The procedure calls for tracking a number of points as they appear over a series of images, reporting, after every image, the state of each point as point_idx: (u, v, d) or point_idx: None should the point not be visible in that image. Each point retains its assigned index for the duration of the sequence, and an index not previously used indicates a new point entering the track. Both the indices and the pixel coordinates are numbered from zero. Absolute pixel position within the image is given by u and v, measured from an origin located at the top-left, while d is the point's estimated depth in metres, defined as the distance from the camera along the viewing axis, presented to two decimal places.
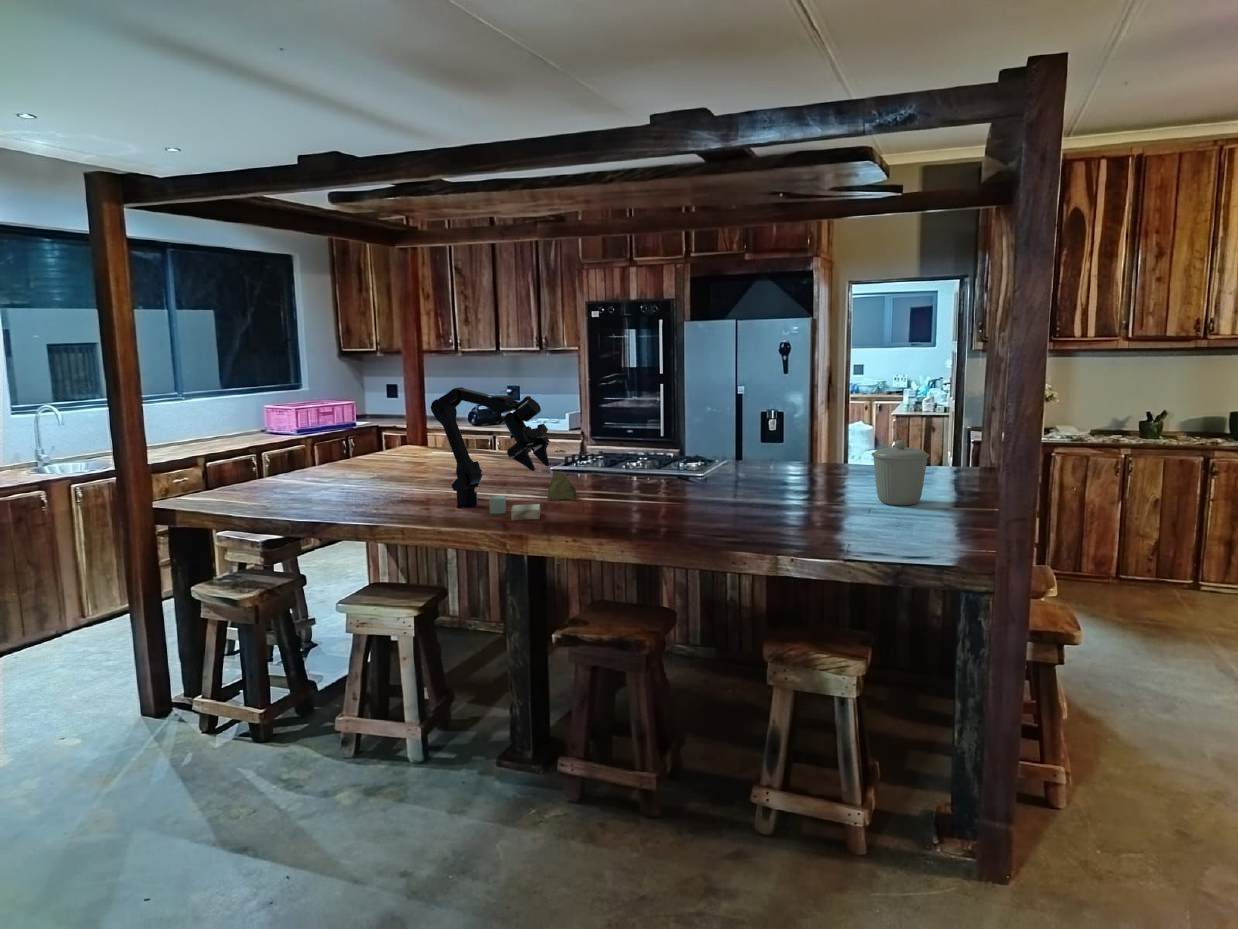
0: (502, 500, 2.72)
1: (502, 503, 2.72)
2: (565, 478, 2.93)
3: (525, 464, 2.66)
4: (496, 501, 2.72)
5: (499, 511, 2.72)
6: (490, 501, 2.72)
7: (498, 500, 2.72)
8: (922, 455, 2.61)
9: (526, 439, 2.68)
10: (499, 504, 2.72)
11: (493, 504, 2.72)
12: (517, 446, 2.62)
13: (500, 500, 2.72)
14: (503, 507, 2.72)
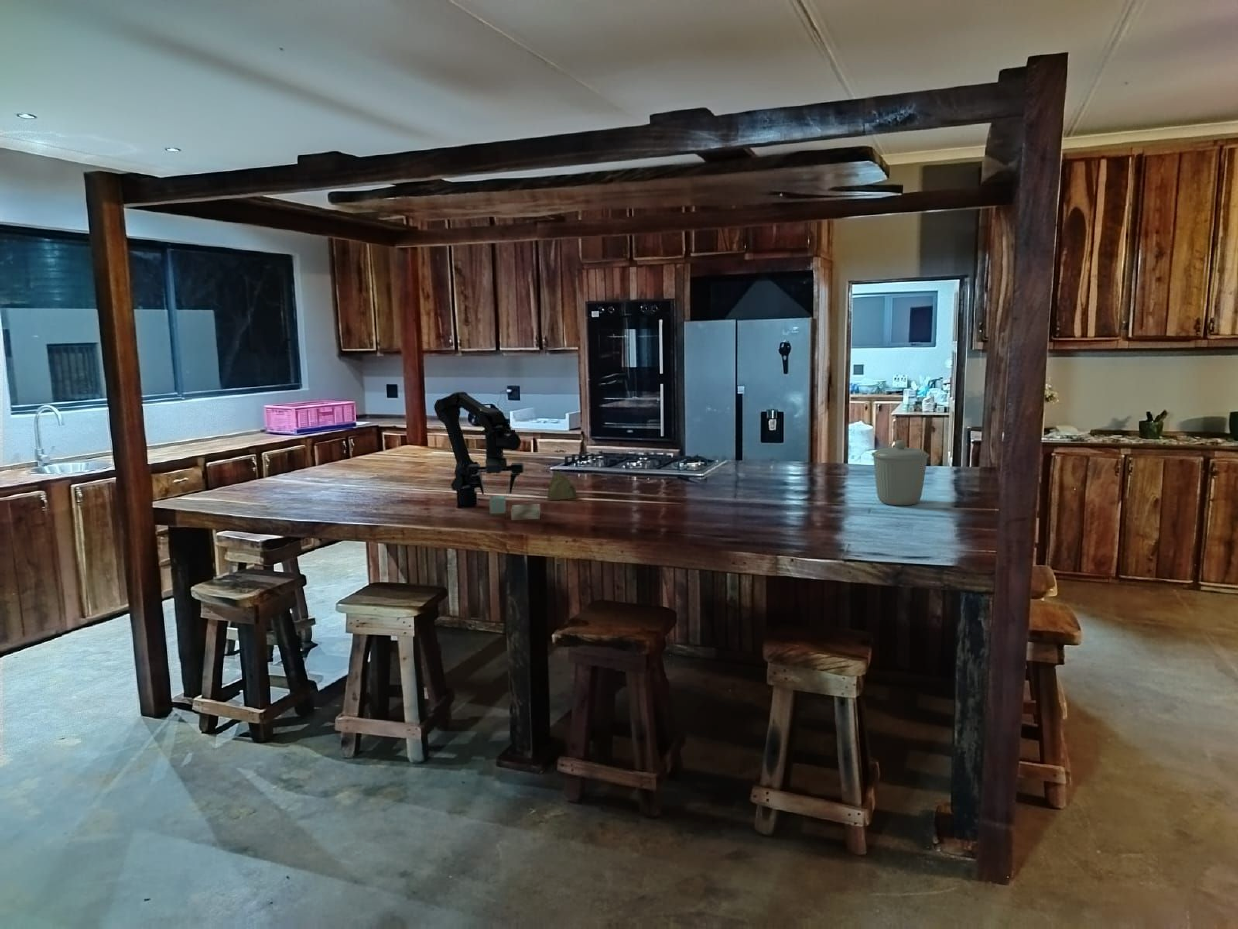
0: (502, 500, 2.72)
1: (502, 503, 2.72)
2: (565, 478, 2.93)
3: None
4: (496, 501, 2.72)
5: (499, 511, 2.72)
6: (490, 501, 2.72)
7: (498, 500, 2.72)
8: (922, 455, 2.61)
9: None
10: (499, 504, 2.72)
11: (493, 504, 2.72)
12: (466, 470, 2.70)
13: (500, 500, 2.72)
14: (503, 507, 2.72)
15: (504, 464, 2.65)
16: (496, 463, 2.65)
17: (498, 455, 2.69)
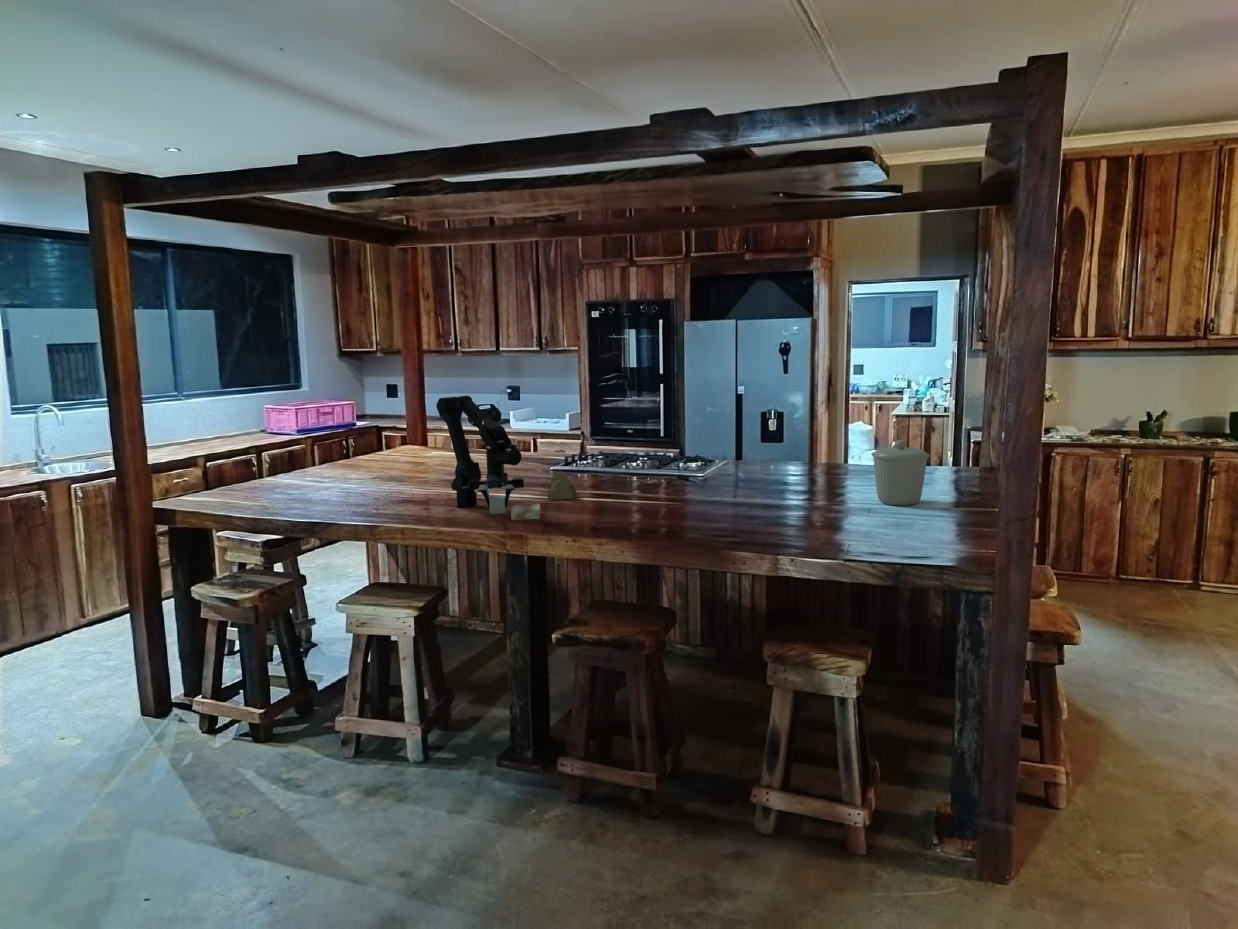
0: (502, 500, 2.72)
1: (502, 503, 2.72)
2: (565, 478, 2.93)
3: None
4: (496, 500, 2.72)
5: (499, 511, 2.72)
6: (490, 501, 2.72)
7: (498, 500, 2.72)
8: (922, 455, 2.61)
9: None
10: (499, 504, 2.72)
11: (493, 504, 2.72)
12: (467, 485, 2.71)
13: (500, 500, 2.72)
14: (503, 507, 2.72)
15: (505, 479, 2.66)
16: (497, 478, 2.66)
17: (499, 470, 2.70)
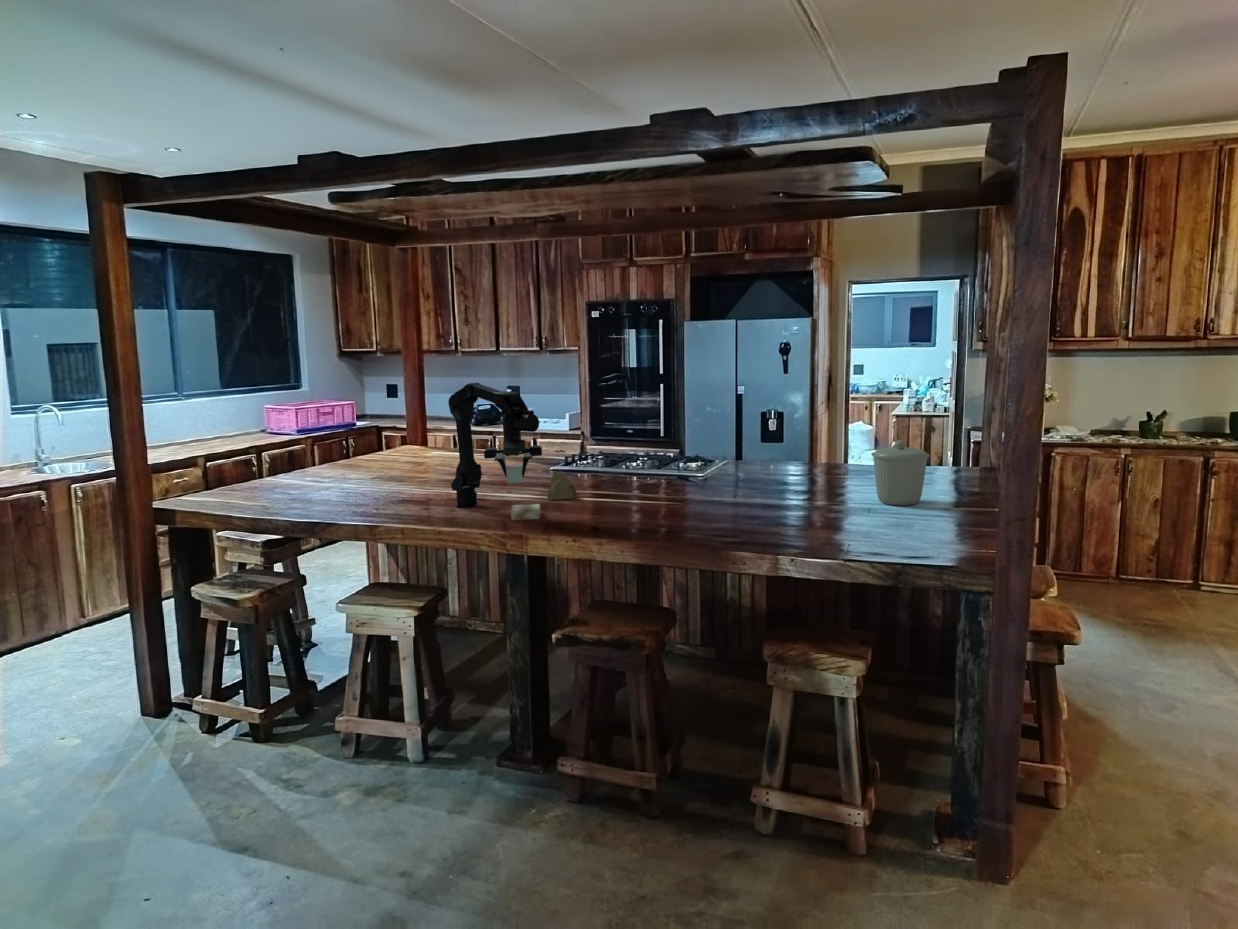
0: (519, 468, 2.64)
1: (519, 471, 2.64)
2: (565, 478, 2.93)
3: None
4: (513, 469, 2.64)
5: (516, 480, 2.65)
6: (507, 470, 2.64)
7: (515, 468, 2.64)
8: (922, 455, 2.61)
9: (503, 448, 2.63)
10: (516, 473, 2.64)
11: (510, 473, 2.64)
12: (484, 453, 2.63)
13: (517, 468, 2.64)
14: (520, 476, 2.65)
15: (522, 446, 2.58)
16: (514, 445, 2.58)
17: (516, 437, 2.62)
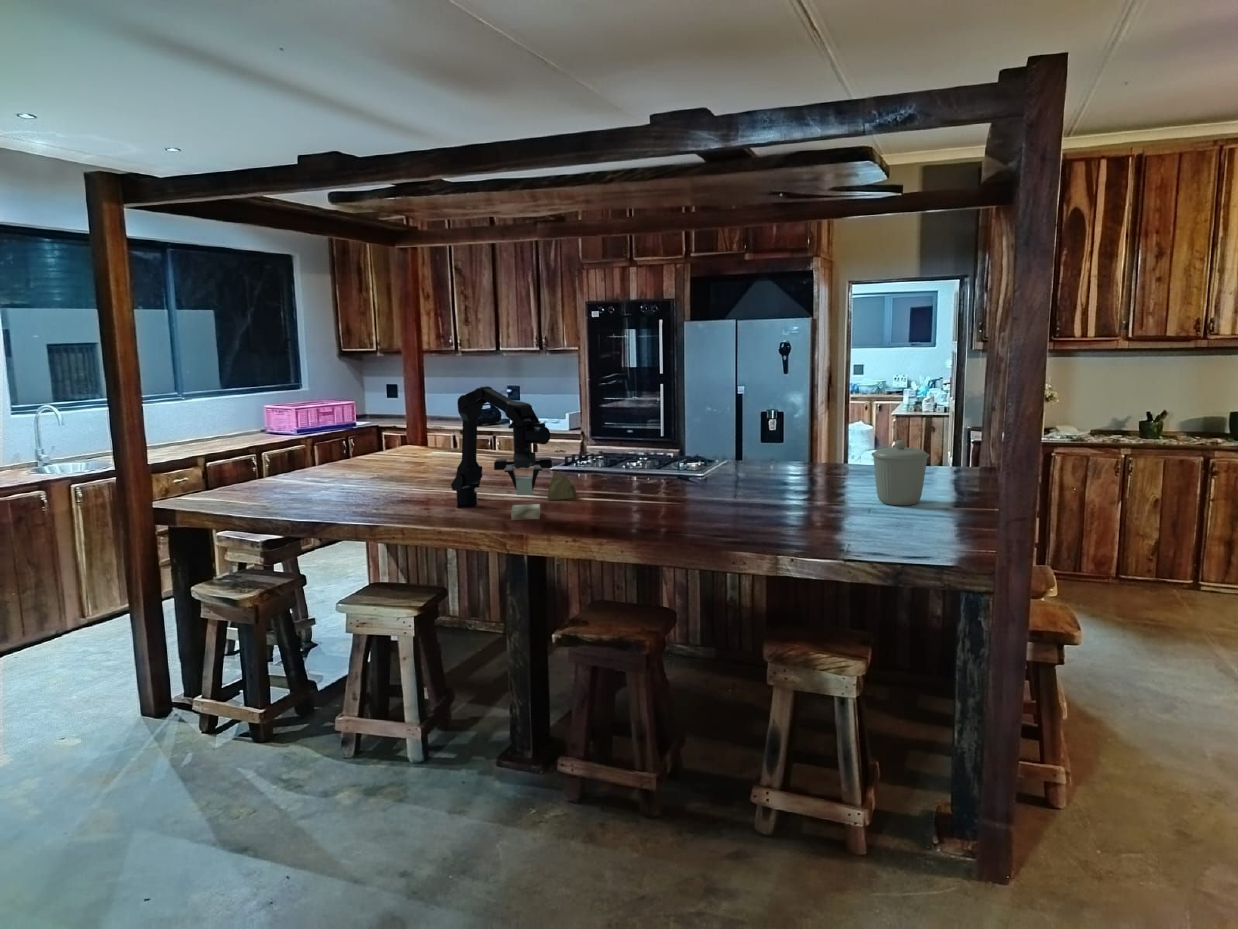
0: (529, 480, 2.62)
1: (529, 484, 2.62)
2: (565, 478, 2.93)
3: None
4: (523, 481, 2.62)
5: (526, 492, 2.63)
6: (517, 481, 2.62)
7: (525, 480, 2.62)
8: (922, 455, 2.61)
9: None
10: (526, 485, 2.62)
11: (520, 485, 2.62)
12: (494, 465, 2.61)
13: (527, 480, 2.62)
14: (530, 488, 2.63)
15: (533, 459, 2.56)
16: (525, 458, 2.56)
17: (526, 449, 2.60)
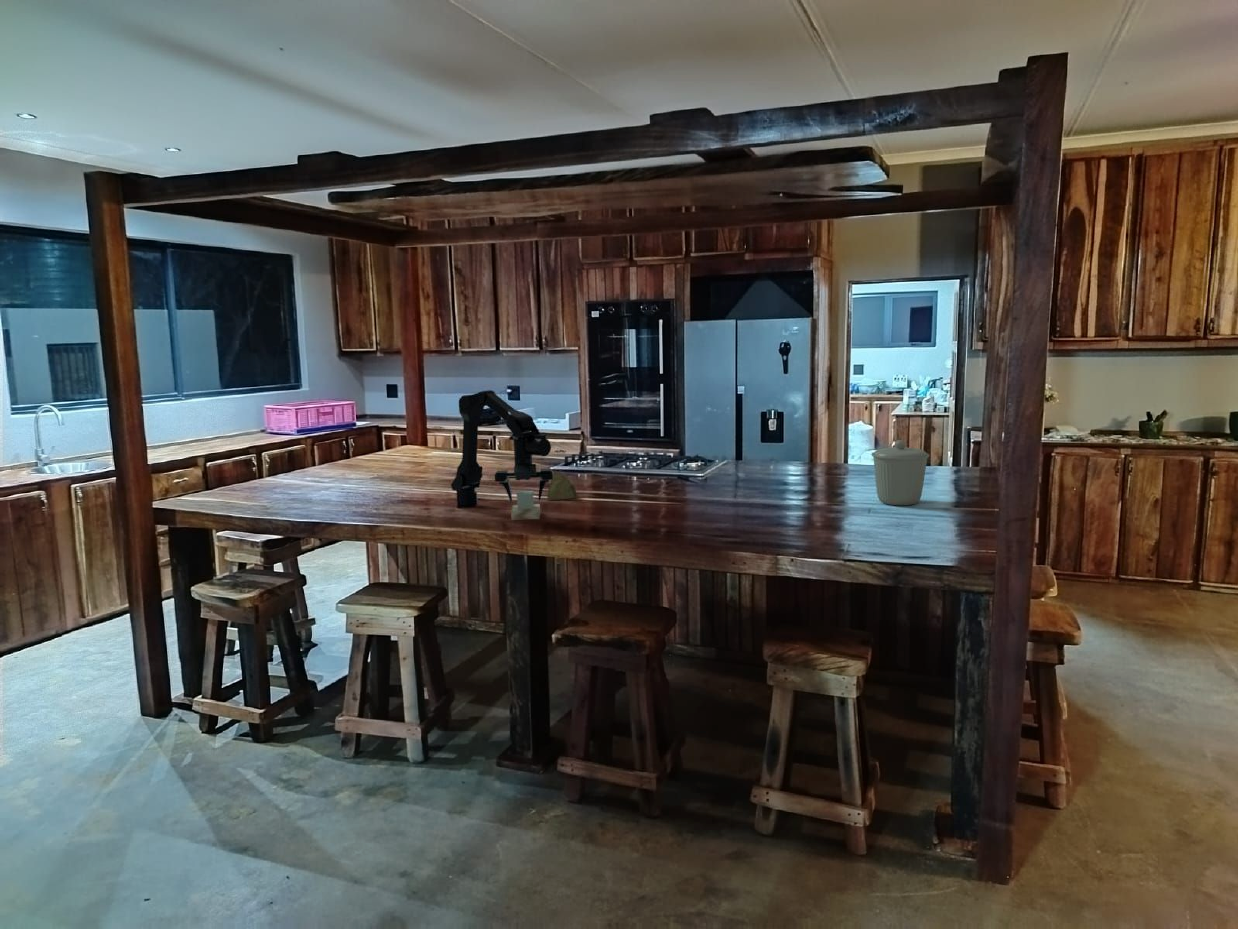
0: (530, 495, 2.63)
1: (530, 498, 2.63)
2: (565, 478, 2.93)
3: None
4: (524, 496, 2.63)
5: (527, 506, 2.64)
6: (518, 496, 2.63)
7: (526, 495, 2.63)
8: (922, 455, 2.61)
9: (514, 471, 2.61)
10: (527, 499, 2.63)
11: (521, 499, 2.63)
12: None
13: (528, 495, 2.63)
14: (531, 502, 2.63)
15: (534, 470, 2.57)
16: (525, 469, 2.57)
17: (527, 461, 2.61)
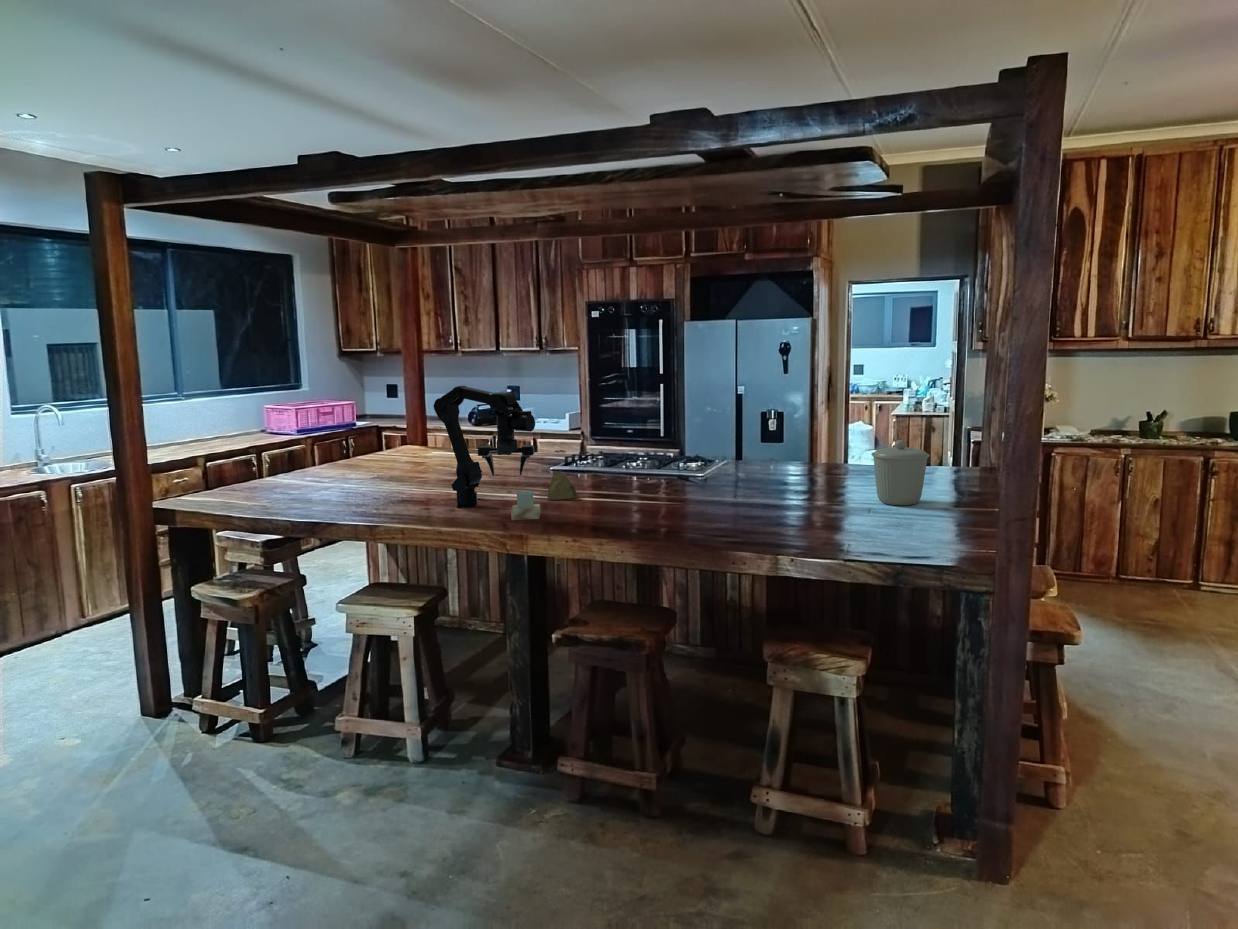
0: (530, 495, 2.63)
1: (530, 498, 2.63)
2: (565, 478, 2.93)
3: None
4: (524, 496, 2.63)
5: (527, 506, 2.64)
6: (518, 496, 2.63)
7: (526, 495, 2.63)
8: (922, 455, 2.61)
9: None
10: (527, 499, 2.63)
11: (521, 499, 2.63)
12: None
13: (528, 495, 2.63)
14: (531, 502, 2.63)
15: (515, 446, 2.67)
16: (507, 444, 2.67)
17: (509, 437, 2.71)
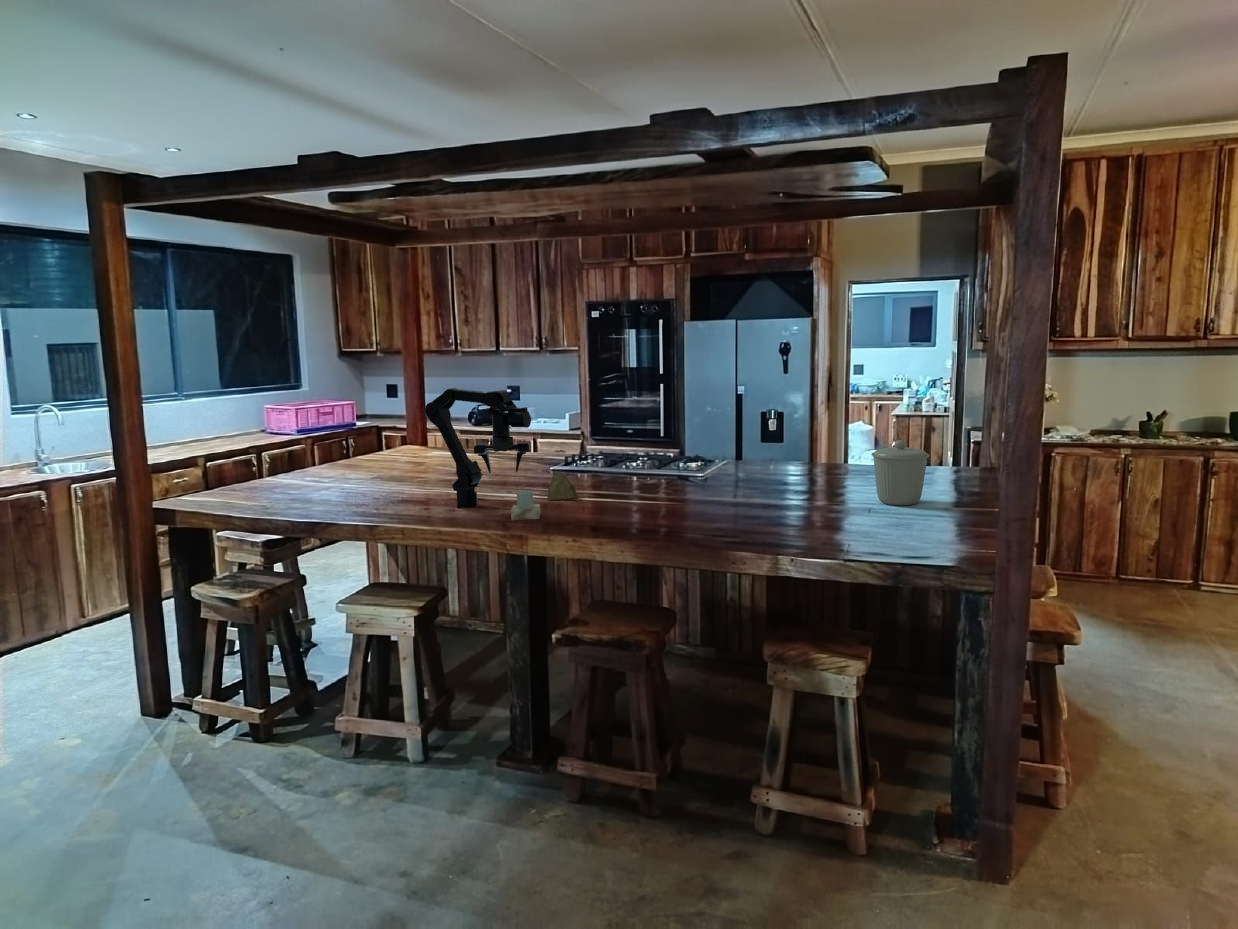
0: (530, 495, 2.63)
1: (530, 498, 2.63)
2: (565, 478, 2.93)
3: None
4: (524, 496, 2.63)
5: (527, 506, 2.64)
6: (518, 496, 2.63)
7: (526, 495, 2.63)
8: (922, 455, 2.61)
9: None
10: (527, 499, 2.63)
11: (521, 499, 2.63)
12: (474, 449, 2.75)
13: (528, 495, 2.63)
14: (531, 502, 2.63)
15: (511, 442, 2.70)
16: (503, 441, 2.70)
17: (505, 434, 2.74)
